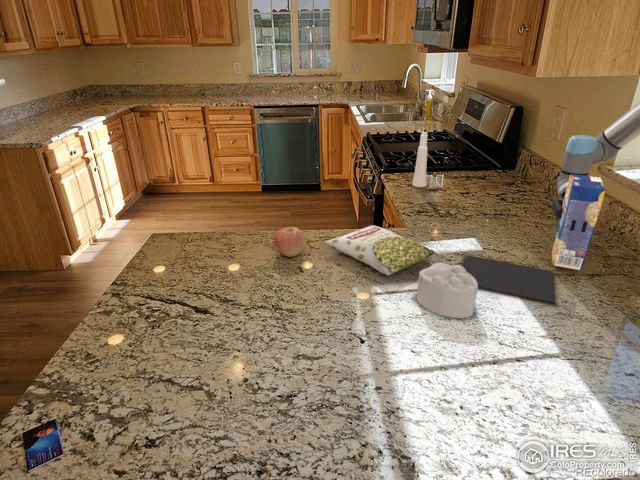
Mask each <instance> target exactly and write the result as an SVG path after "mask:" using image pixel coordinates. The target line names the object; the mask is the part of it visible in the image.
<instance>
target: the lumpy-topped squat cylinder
mask: <svg viewBox="0 0 640 480" xmlns="http://www.w3.org/2000/svg"><path fill="white" fill-rule="evenodd" d="M478 289H479V288H478V283H477V281H476V279H475V278H474V277H473V276H472V275H471V274H469V273H468V272H467V271H466V270H465V268H464V267H463V266H462V265H460V264H455V265H451V264H448V263H445V262H435V263H432V264H431V265H430V266H429V267H427V268H426V267H425V268H424V269H422V270H420V271H419V274H418V282H417V290H416V301H417V302H418V303H419V305H421V306H423V307H424V308H425V309H427V310H429V311H431V312H433V313H435V314H437V315H440V316H442V317H446V318H447V317H448V318H454V319H465V318H470V317H472V316H473V314H474V310H475V305H476V300H477V294H478Z"/></svg>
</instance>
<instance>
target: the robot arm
mask: <svg viewBox="0 0 640 480" xmlns="http://www.w3.org/2000/svg"><path fill="white" fill-rule="evenodd" d="M639 136H640V101H639V102H638V103H637V104H635V105H634V106H633V107H632V108H630V109H629V110H628V111H626V112H625V113H624V114H623V115H622V116H620V117H619V118H617V120H615V121H614V122H613V123H611V124H610V125H609V126H608V127H607V128H605V129H604V130H603V131H602V132H600V133H599V134H598V135H596V136H592V135H585V134H578V135H577V134H575V135H572V136H570V137H569V138H568V141H567V145H566V146H565V152H564V156H563V159H562V164H561V169H560V172H559V176H558V177H557V179H556V184H555V188H556V191H557V198H555V197H553V196H551V197H549V200H548V203H547V207H549V208H550V209H551V210H552V212H553V214H554V216H555V217H556V218H557V219H559V218H561V217H562V213H563V208H562V205H563V201H564V197H565V193H566V189H567V185H568V182H569V178H570V174H574V175H584V176H589V174H590V170H591V166H592V165H594V164H597V163H600V162H606V161H608V160H611V159H612V158H614V157H615V156H616V155H618V153H619V151H620V150H622V149H623V148H624V147H625V146H627V145H628V144H629V143H631V142H632V141H633V140H635V139H637V137H639ZM602 207H603V203H602V204H601V208H600V211H599V214H600V213H601V210H602ZM575 223H576V220H573V221H572V225H571V228H570V230H573V231H574V227H575ZM587 223H588V222H584V224H583V227H582V231H581V232H585V230H586V226H587Z"/></svg>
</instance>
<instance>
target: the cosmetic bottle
mask: <svg viewBox="0 0 640 480" xmlns="http://www.w3.org/2000/svg"><path fill="white" fill-rule="evenodd" d="M428 137H429V135H428V132H427V131H421V134H420V138H419V146H418V147H417V155H416V161H415V168H414V173H413V178H412V182H411V185H412V186H413V187H416V188H425V187H427V185H428V184H427V164H428V163H427V162H428Z"/></svg>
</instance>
